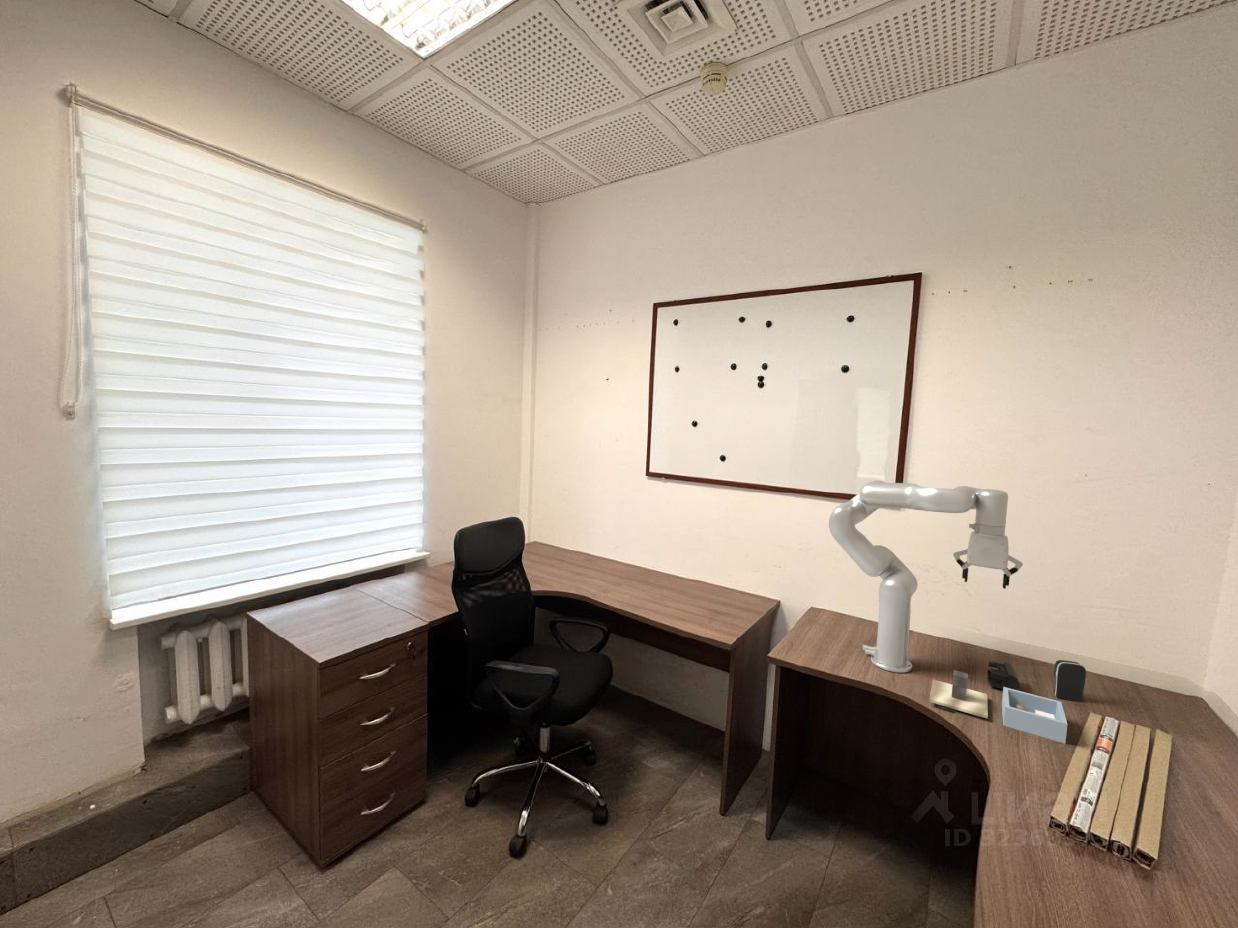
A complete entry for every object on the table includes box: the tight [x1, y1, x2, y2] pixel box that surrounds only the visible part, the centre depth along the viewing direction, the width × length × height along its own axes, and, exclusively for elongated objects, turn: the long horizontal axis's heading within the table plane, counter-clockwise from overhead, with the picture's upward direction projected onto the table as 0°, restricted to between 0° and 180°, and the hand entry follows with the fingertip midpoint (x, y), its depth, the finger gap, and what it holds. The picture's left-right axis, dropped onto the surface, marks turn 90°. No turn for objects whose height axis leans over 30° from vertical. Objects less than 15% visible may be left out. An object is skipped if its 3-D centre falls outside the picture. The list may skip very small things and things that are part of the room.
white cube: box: [1035, 710, 1055, 719], centre depth 138 cm, size 4×4×4 cm
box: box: [1001, 687, 1068, 745], centre depth 141 cm, size 13×13×6 cm
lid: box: [929, 670, 989, 719], centre depth 151 cm, size 14×14×9 cm
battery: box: [1053, 659, 1087, 702], centre depth 156 cm, size 7×4×11 cm, turn 73°
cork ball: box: [1014, 705, 1027, 711], centre depth 145 cm, size 3×3×3 cm
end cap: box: [986, 661, 1021, 691], centre depth 161 cm, size 10×7×7 cm
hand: (984, 584), depth 156 cm, fingers open, 9 cm apart
